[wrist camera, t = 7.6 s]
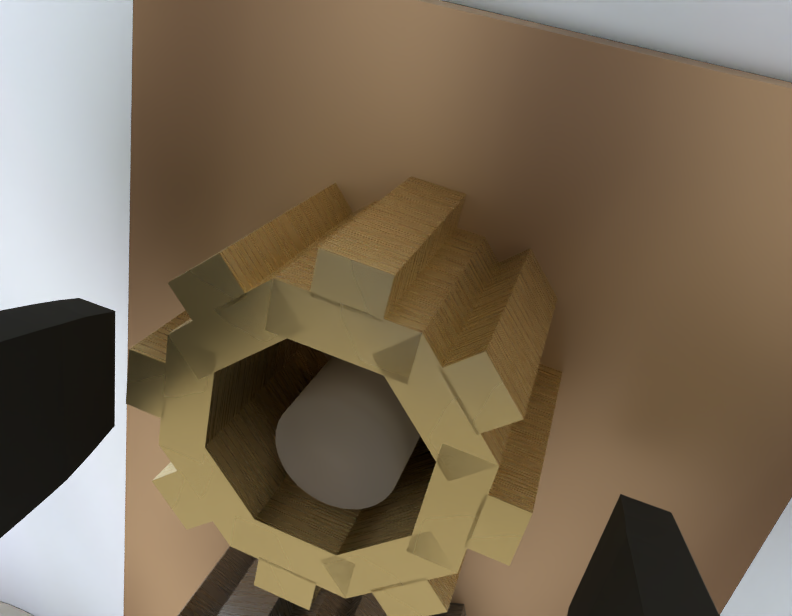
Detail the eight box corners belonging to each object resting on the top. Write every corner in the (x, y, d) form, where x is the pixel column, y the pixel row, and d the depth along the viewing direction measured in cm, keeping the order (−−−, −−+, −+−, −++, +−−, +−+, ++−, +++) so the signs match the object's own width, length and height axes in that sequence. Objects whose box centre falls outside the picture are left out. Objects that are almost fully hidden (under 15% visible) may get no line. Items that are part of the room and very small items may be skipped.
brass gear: (615, 243, 10) (604, 350, 7) (502, 514, 13) (459, 679, 10) (277, 132, 11) (137, 183, 8) (236, 405, 14) (119, 522, 10)
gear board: (968, 124, 9) (1184, 206, 6) (560, 830, 17) (539, 1050, 14) (180, -61, 11) (-35, -88, 8) (149, 639, 20) (38, 785, 16)
